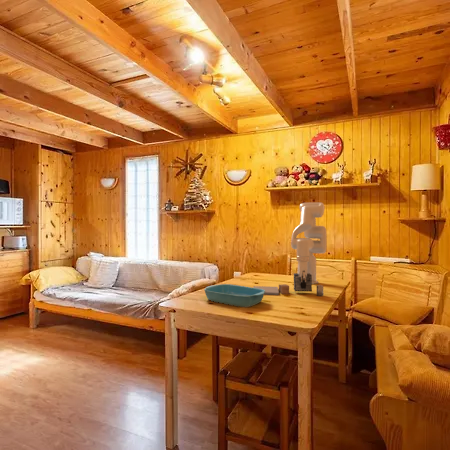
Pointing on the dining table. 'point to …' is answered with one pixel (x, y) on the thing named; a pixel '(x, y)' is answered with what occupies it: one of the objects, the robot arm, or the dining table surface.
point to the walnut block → (284, 289)
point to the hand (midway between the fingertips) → (302, 286)
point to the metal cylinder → (319, 290)
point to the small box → (298, 282)
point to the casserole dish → (234, 294)
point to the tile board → (269, 290)
